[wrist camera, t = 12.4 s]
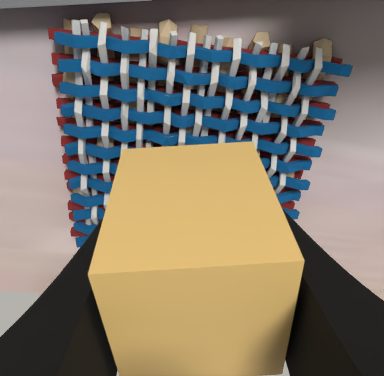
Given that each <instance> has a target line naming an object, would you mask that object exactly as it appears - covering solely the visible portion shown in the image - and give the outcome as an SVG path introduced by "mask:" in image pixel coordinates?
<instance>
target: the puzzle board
mask: <svg viewBox="0 0 384 376" xmlns="http://www.w3.org/2000/svg"><path fill="white" fill-rule="evenodd" d="M131 1H150V0H0V9H3V8H21V7H40V6H58V5H76V4H95V3H113V2H131Z"/></svg>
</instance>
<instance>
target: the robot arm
mask: <svg viewBox="0 0 384 376" xmlns="http://www.w3.org/2000/svg"><path fill="white" fill-rule="evenodd" d="M282 210H283V209H282ZM283 212H284V214H285V217H286V219H287V221H288V224H289V226H290V228H291V231H292V233H293V235H294V238H295V240H296V242H297V244H298V247H299V249H300V251H301V254H302V256H303V258H304V261H305V262H304V267H303V272H302V277H301V282H300V287H299V292H298V297H297V302H296V307H295V312H294V317H293V322H292V327H291V332H290V337H289V342H288V347H287V352H286V357H285V360H286V363H287V367H288V370H289V374H290V376H384V301H383V300H382V299H381V298H379V297H378V296H377V295H375V294H374V293H373V292H371V291H370V290H369V289H367V288H366V287H365V286H364V285H362V284H361V283H360V282H359V281H358V280H356V279H355V278H354V277H353V276H352V275H351V274H349V273H348V272H347V271H346V270H345V269H344V268H342V267H341V266H340V265H339V264H338V263H337V262H336V261H335V260H334V259H333V258H331V257H330V256H329V255H328V254H327V253H326V252H325V251H324V250H323V249H322V248H321V247H320V246H319V245H318V244H317V243H316V242H315V241H314V240H313V239H312V238H311V237H310V236H309V235H308V234H307V233H306V232H305V231H304V230H303V229H302V228H301V227H300V226H299V225H298V224H297V223H296V222H295V221H294V220H293V219H292V218H291V217H290V216H289V215H288V214H287V213H286V212H285V211H284V210H283ZM102 221H103V219H102V220H101V221H100V222H99V223H98V224H97V226H96V227H95V228H94V230H93V231H92V232H91V234H90V235H89V237H88V238H87V239H86V241H85V242H84V243H83V245H82V246H81V247H80V249H79V250H78V251H77V253H76V254H75V255H74V256H73V258H72V259H71V260H70V261H69V263H68V264H67V265H66V266H65V268H64V269H63V270H62V272H61V273H60V274H59V275H58V276H57V278H56V279H55V280H54V281H53V282H52V283H51V284H50V286H49V287H48V288H47V289H46V290H45V291H44V292H43V294H42V295H41V296H40V297H39V298H38V299H37V301H35V303H34V304H33V305H32V306H31V307H30V308H29V309H28V310H27V311H26V312H25V313H24V314H23V315H22V316H21V317H20V318H19V319H18V320H17V321H16V322H15V323H14V324H13V325H12V326H11V327H10V328H9V329H8V330H7V331H6V332H5V333H4V334H3V335H2V336H1V337H0V376H116V375H117V366H116V363H115V360H114V357H113V354H112V350H111V347H110V344H109V341H108V338H107V334H106V331H105V328H104V325H103V322H102V318H101V315H100V312H99V309H98V306H97V303H96V299H95V296H94V293H93V290H92V287H91V283H90V280H89V277H88V272H89V268H90V265H91V261H92V257H93V254H94V250H95V246H96V243H97V239H98V236H99V232H100V228H101V225H102Z"/></svg>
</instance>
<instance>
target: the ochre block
mask: <svg viewBox="0 0 384 376" xmlns="http://www.w3.org/2000/svg"><path fill="white" fill-rule="evenodd" d="M304 262H305V261H304V258H303V256H302V254H301V251H300V249H299V247H298V244H297V242H296V240H295V238H294V235H293V233H292V231H291V228H290V226H289V224H288V221H287V219H286V217H285V214H284V212H283V210H282V208H281V205H280V203H279V201H278V198H277V196H276V194H275V191H274V189H273V187H272V185H271V182H270V180H269V178H268V175H267V173H266V171H265V168H264V166H263V164H262V162H261V159H260V157H259V155H258V152H257V150H256V148H255V145H254V143H253V141H250V142H233V143H216V144H199V145H183V146H166V147H149V148H132V149H122V152H121V156H120V160H119V163H118V167H117V171H116V174H115V178H114V181H113V185H112V189H111V192H110V196H109V199H108V203H107V207H106V210H105V214H104V218H103V221H102V225H101V228H100V232H99V236H98V239H97V243H96V246H95V250H94V254H93V257H92V261H91V265H90V268H89V272H88V277H89V280H90V283H91V287H92V290H93V293H94V296H95V299H96V303H97V306H98V309H99V312H100V315H101V318H102V322H103V325H104V328H105V331H106V334H107V338H108V341H109V344H110V347H111V350H112V354H113V357H114V360H115V363H116V366H117V369H118V373H119V376H262V375H276V374H282V372H283V367H284V362H285V357H286V352H287V347H288V342H289V337H290V332H291V327H292V322H293V317H294V312H295V307H296V302H297V297H298V292H299V287H300V282H301V277H302V272H303V267H304Z"/></svg>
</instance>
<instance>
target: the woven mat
mask: <svg viewBox="0 0 384 376" xmlns="http://www.w3.org/2000/svg"><path fill="white" fill-rule="evenodd" d="M80 23H81V29H82V31H81V30H80ZM92 25H93V29H94V32H89V26H88V21H87V19H86V20H73V19H63V27H64V29H59V28H48V33H49V39H52V40H55V43H56V44H61V45H64V53H65V54H64V53H52V64H54V65H58V68H59V71H60V72H63V73H61V74H52V82H53V85H54V86H60V92H61V93H65V94H66V95H67V97H68V98H57V99H56V102H57V108H59V109H61V114H62V115H63V116H64V117H57V122H58V125H59V126H64V133H65V134H68V135H71V136H62V137H61V146H65V154H64V155H63V156H62V159H63V163H64V164H68V169H66V171H65V172H64V175H65V180H68V183H67V189H68V190H69V191H73V193H74V194H72V195H71V200H69V202H68V210H75V211H73V212H71V213H69V219H71V220H73V221H76V223H74V227H72V228H71V236H83V237H78V238H76V245H77V247H81V246H82V245H83V243H84V242H85V241H86V239H87V238H88V237H89V235H90V234H91V232H92V231H93V230H94V228H95V227H96V226H97V224H98V223H99V222H100V221H101V220H102V219H103V218H104V214H105V210H106V207H107V203H108V199H109V196H110V192H111V189H112V185H113V181H114V178H115V174H116V171H117V167H118V163H119V160H120V156H121V152H122V149H132V148H149V147H166V146H183V145H199V144H216V143H233V142H250V141H253V143H254V145H255V148H256V150H257V152H258V155H259V157H260V159H261V162H262V164H263V166H264V168H265V171H266V173H267V175H268V178H269V180H270V182H271V185H272V187H273V189H274V191H275V194H276V196H277V198H278V201H279V203H280V205H281V208H282V209H283V210H284V211H285V212H286V213H287V214H288V215H289V216H290V217H291V218H292V219H298V216H299V211H297V210H296V209H293V208H294V205H295V203H294V201H291V200H296V201H299V199H300V196H301V191H300V190H308V188H309V185H310V182H309V181H307V180H299V179H301V176H302V173H303V171H304V170H310V167H311V165H312V160H311V159H310V157H320V155H321V152H322V148H320V147H318V146H314V144H315V141H316V140H315V139H313V138H303V137H307V136H313V135H318V136H322V133H323V131H324V125H322V123H321V122H320V121H311V120H306V117H307V116H310V117H314V118H319V119H323V120H334V117H335V113H336V110H333V109H329V106H330V105H329V104H328V103H324V102H317V101H312V98H313V97H318V96H336V94H337V91H338V85H337V84H336V83H335V82H331V81H321V80H322V79H323V77H324V76H325V75H326V74H327V73H329V74H334V75H339V76H346V77H349V75H350V72H351V69H352V66H351V65H345V64H341V62H342V59H339V58H333V57H332V41H330V40H328V39H326V38H323V39H320V40H317V41H314V43H313V54H307V53H308V51H309V47H304V48H302V49H301V51H300V53H299V54H292V46H293V45H288V44H280V47H279V50H278V53H277V52H276V51H277V46H278V43H271V45H270V39H269V34H268V32H257V34H256V35H255V37H254V38H253V40H252V42H251V43H250V45H249V49H242V48H241V42H242V38H234V39H233V38H223V36H222V35H219V36H216V38H215V43H214V45H211V39H212V36H210V35H207V29H208V26H205V25H196V24H191V29H190V33H189V34H188V42H186V41H181V40H177V39H178V34H177V32H178V25H176V24H175V23H173V22H172V21H171V20H169V19H167V20H164V21H161V22H159V29H150V36H148V30H146V29H144V28H135V27H130V36H129V29H128V28H126V27H123V26H121V35H116V34H114V33H113V26H112V22H111V19H110V15H109V13H97V14H96V16H95V17H94V19H93V20H92ZM90 48H97V57H92V56H90ZM269 48H270V51H269V52H268V50H269ZM115 51H118V52H121V60H119V59H115ZM147 53H149V63H147V62H146V56H147ZM176 58H186V64H185V66H176V65H175V62H176ZM156 62H157V64H156ZM208 62H212V67H208ZM239 63H241V64H245V65H246V68H245V71H242V70H239V69H238V66H239ZM273 67H274V68H273ZM262 68H265V71H264V74H261V72H262ZM272 69H273V71H272ZM289 69H290V70H294V73H293V77H288V73H289ZM82 72H83V75H82ZM301 72H302V73H304V74H303V79H302V78H301ZM91 73H92V74H94V75H96V76H98V78H96V77H92V76H91ZM271 74H272V75H271ZM115 75H120V77H121V82H117V81H115ZM145 80H148V85H147V84H145ZM174 81H176V82H179V83H182V84H183V88H178V87H173V85H174ZM155 84H156V85H155ZM207 84H210V85H209V89H208V90H205V85H207ZM234 89H235V90H237V89H241V93H240V94H238V93H233V90H234ZM257 90H261V94H257ZM287 92H290V94H289V95H288V96H287ZM256 94H257V95H256ZM297 94H298V97H297V98H296V96H297ZM97 96H99V100H93V97H97ZM115 99H117V100H115ZM144 100H148V101H147V102H145V101H144ZM181 104H182V107H181V108H176V107H172V106H177V105H181ZM203 109H204V110H203ZM231 109H235V110H237V113H230V110H231ZM255 112H258V115H252V113H255ZM281 115H282V116H281ZM68 116H71V118H66V117H68ZM280 116H281V118H280ZM288 117H291V119H290V118H288ZM93 118H94V119H98V120H93ZM116 119H121V122H117V121H116ZM232 130H233V131H232ZM248 131H250V132H253V133H248ZM273 133H279V134H278V135H273ZM144 139H146V142H143V140H144ZM177 143H178V145H177ZM114 146H115V147H114ZM295 153H298V154H301V155H295ZM303 155H305V156H303ZM294 177H295V178H298V179H295V178H294ZM90 192H91V193H92V194H91V193H90ZM290 209H291V210H290ZM92 224H93V225H92Z"/></svg>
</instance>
